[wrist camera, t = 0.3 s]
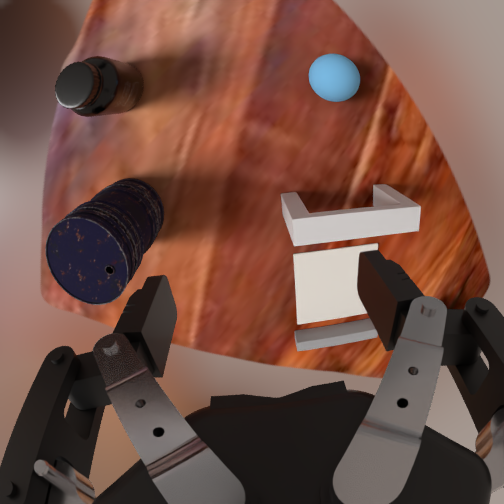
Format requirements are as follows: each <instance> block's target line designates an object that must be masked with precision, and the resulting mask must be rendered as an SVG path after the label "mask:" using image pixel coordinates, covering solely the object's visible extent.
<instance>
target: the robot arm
mask: <svg viewBox="0 0 504 504" xmlns="http://www.w3.org/2000/svg"><path fill="white" fill-rule="evenodd" d="M357 291H358V295H359V298H360V300H361V302H362V304H363V306H364V308H365V310H366V311H367V313H368V315H369V317H370V319H371V321H372V323H373V325H374V327H375V329H376V331H377V333H378V335H379V337H380V339H381V341H382V343H383V345H384V347H385V349H386V351H390V350H394V351H393V354H392V357H391V359H390V362H389V364H388V367H387V369H386V372H385V374H384V376H383V379H382V381H381V384H380V386H379V388H378V390H377V393H376V395H373V394H369V393H366V392H362V391H356V390H346V387H345V383H344V381H339V382H334V383H329V384H322V385H317V386H311V387H308V388H306V389H303V390H300V391H298V392H295V393H292V394H289V395H286V396H283V397H280V398H271V397H261V396H253V395H244V394H242V395H228V396H211V403H210V406H208V407H205V408H202V409H199V410H197V411H195V412H193V413H191V414H189V415H188V416H186V417H185V418H183V417H182V415H181V414H180V413H179V411H178V410H177V409H176V407H175V406H174V405H173V403H172V402H171V401H170V399H169V398H168V397H167V395H166V394H165V392H164V391H163V390H162V389H161V387H160V386H159V384H158V382H156V380H155V378H154V377H163V374H164V369H165V365H166V361H167V356H168V352H169V348H170V344H171V340H172V336H173V332H174V328H175V324H176V320H177V309H176V304H175V301H174V298H173V295H172V292H171V288H170V285H169V282H168V279H167V277H166V276H165V275H160V276H151V277H147V279H146V281H145V283H144V285H143V288H142V289H138V290H137V291H136V292H135V293H134V294H133V295H131V296H130V298H129V300H128V302H127V304H126V307H125V308H124V310H123V313H122V314H121V316H120V319H119V321H118V323H117V325H116V327H115V329H114V331H113V333H112V334H109V335H106V336H104V337H102V338H101V339H100V340H98V341H97V343H96V344H95V346H94V348H93V351H92V352H88V353H84V354H80V355H76V354H75V352H74V351H73V349H72V348H71V347H69V346H61V347H58V348H55V349H54V350H52V351H51V352H50V353H49V354H48V355H47V356H46V358H45V360H44V362H43V364H42V365H41V368H40V370H39V372H38V374H37V376H36V378H35V380H34V382H33V384H32V386H31V389H30V391H29V393H28V396H27V398H26V400H25V402H24V404H23V407H22V409H21V412H20V414H19V416H18V419H17V421H16V424H15V426H14V429H13V432H12V434H11V437H10V440H9V443H8V445H7V448H6V451H5V454H4V457H3V460H2V463H1V466H0V504H489V502H490V496H491V493H493V492H495V491H497V490H498V489H500V488H502V487H504V317H503V316H502V314H501V313H500V312H499V311H498V309H497V308H496V307H495V306H494V305H493V304H492V303H491V302H490V301H488V300H486V299H483V298H478V297H475V298H471V299H469V300H468V301H467V302H466V305H465V308H464V310H456V309H447V308H446V306H445V305H444V303H443V302H441V301H440V300H438V299H436V298H434V297H429V296H424V295H423V293H422V292H421V291H420V290H419V288H418V287H417V286H416V285H415V283H414V282H413V281H412V280H411V279H410V277H409V276H408V275H407V273H406V274H405V271H404V270H403V269H402V267H401V266H400V265H399V264H397V263H395V262H393V261H392V260H386V259H385V258H384V257H383V255H382V254H381V253H380V252H379V251H378V250H371V251H364V252H360V254H359V262H358V277H357ZM481 351H482V352H483V353H484V355H485V356H486V358H487V360H488V362H489V370H488V368H487V366H486V364H485V363H484V361H483V359H482V358H481V356H480V353H481ZM443 365H444V366H445V365H446V366H447V367H448V369H449V371H450V373H451V375H452V377H453V378H454V381H455V383H456V385H457V387H458V389H459V391H460V393H461V395H462V397H463V400H464V402H465V404H466V406H467V408H468V410H469V413H470V415H471V417H472V419H473V422H474V424H475V426H476V429H477V431H478V436H477V438H476V443H475V446H476V452H475V453H474V452H473V451H471V450H469V449H467V448H465V447H464V446H462V445H460V444H458V443H456V442H454V441H452V440H450V439H449V438H447V437H445V436H444V435H442V434H440V433H438V432H436V431H435V430H433V429H431V428H430V427H428V426H426V425H425V423H426V420H427V416H428V413H429V410H430V406H431V403H432V399H433V395H434V391H435V387H436V383H437V379H438V375H439V370H440V366H443ZM68 399H69V400H70V401H71V403H70V405H69V408H68V412H67V415H66V417H65V418H64V408H65V406H66V403H67V400H68ZM110 404H113V407H114V409H115V411H116V413H117V415H118V417H119V419H120V421H121V423H122V425H123V427H124V429H125V431H126V432H127V434H128V436H129V438H130V440H131V442H132V443H133V445H134V447H135V449H136V450H137V452H138V454H139V456H140V457H141V459H140V460H139V461H138V462H136V463H135V464H134V465H133V466H132V467H131V468H130V469H129V470H128V471H126V472H125V473H124V474H123V475H122V476H121V477H120V478H119V479H117V480H116V481H115V482H114V483H113V484H112V485H111V486H109V487H108V488H107V489H106V490H105V491H104V492H103V493H101V494H100V495H99V496H98V497H97V498H96V496H95V491H94V487H93V485H92V483H91V481H90V480H89V475H90V470H91V465H92V460H93V455H94V450H95V445H96V441H97V437H98V432H99V429H100V424H101V420H102V416H103V412H104V409H105V406H106V405H110Z"/></svg>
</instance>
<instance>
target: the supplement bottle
mask: <svg viewBox="0 0 504 504" xmlns="http://www.w3.org/2000/svg"><path fill="white" fill-rule="evenodd" d="M143 88H144V82H143V78H142V75H141V73H140V72H139V71H138V70H137V69H136V68H135V67H133V66H131V65H129V64H126V63H123V62H120V61H116V60H113V59H110V58H106V57H101V56H95V57H90V58H87V59H85V60H83V61H82V62H74V63H73V64H70V65H69V66H66V68H65V69H63V71H62V72H61V73H60V75H59V77H58V80H57V81H56V85H55V92H56V94H55V95H56V99H57V100H58V102H59V103H60V105H62V106H63V107H66V108H67V109H69V108H70V109H72V110H73V111H74V112H75V113H77V114H78V115H81V116H86V117H92V116H100V115H110V114H119V113H123V112H126V111H128V110H130V109H131V108H133V107H134V106H135V105H136V104H137V102H138V101H139V100H140V98H141V96H142V93H143Z"/></svg>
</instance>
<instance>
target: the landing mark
mask: <svg viewBox="0 0 504 504" xmlns="http://www.w3.org/2000/svg"><path fill="white" fill-rule="evenodd" d="M371 250H378V243H374V244H366V245H359V246H351V247H343V248H336V249H328V250H320V251H312V252H304V253H297V254H293V257H294V272H295V289H296V307H297V324H304V323H311V322H318V321H324V320H330V319H336V318H342V317H348V316H354V315H359V314H365V313H367V311H366V310H365V308H364V306H363V304H362V302H361V300H360V298H359V295H358V291H357V277H358V262H359V254H360V252H364V251H371Z"/></svg>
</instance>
